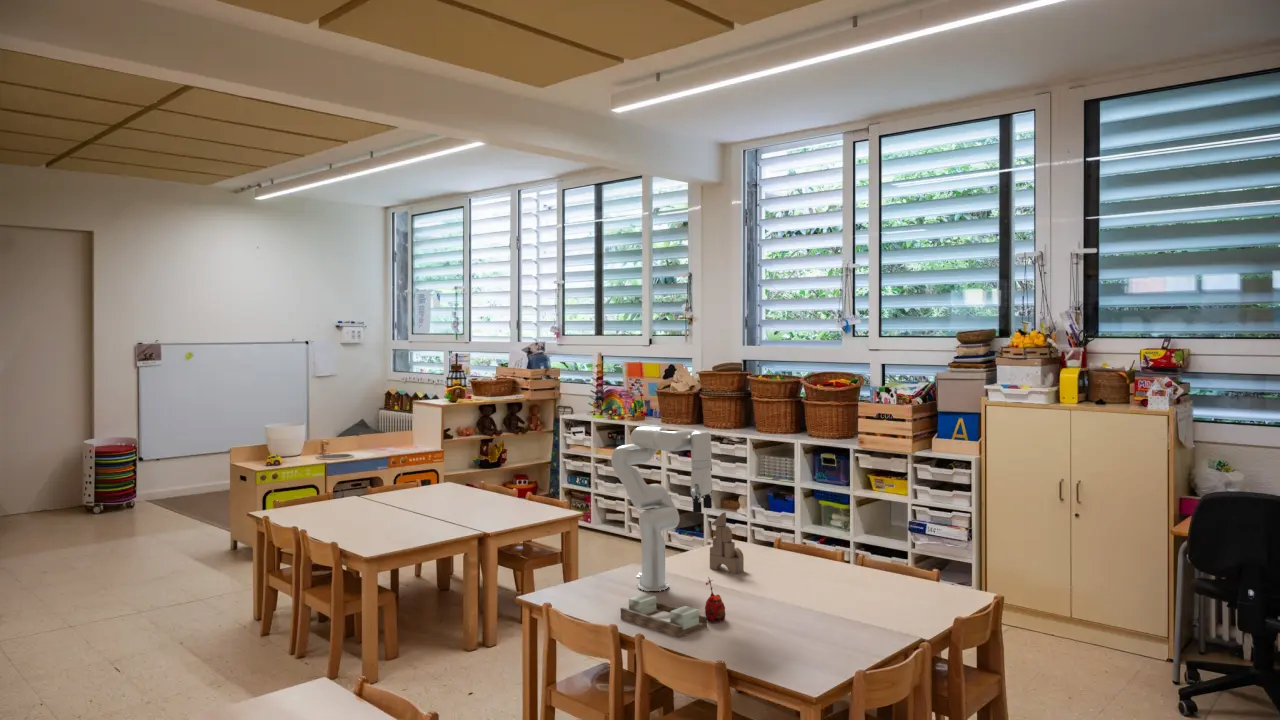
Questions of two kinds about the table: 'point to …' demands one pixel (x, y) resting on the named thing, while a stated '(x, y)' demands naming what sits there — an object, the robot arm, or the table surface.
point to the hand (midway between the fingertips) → (702, 510)
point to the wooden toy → (725, 548)
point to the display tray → (663, 616)
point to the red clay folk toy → (714, 607)
